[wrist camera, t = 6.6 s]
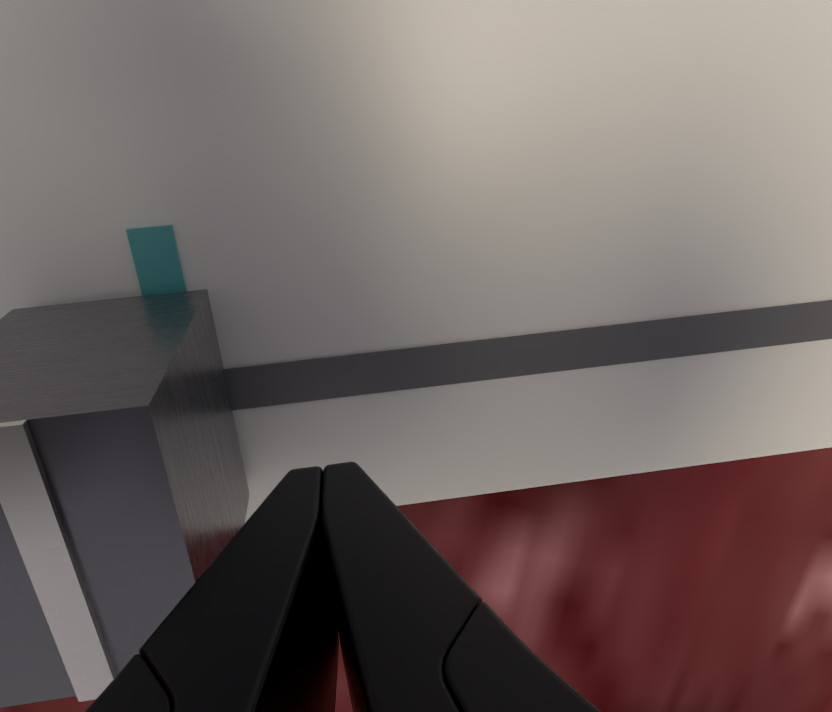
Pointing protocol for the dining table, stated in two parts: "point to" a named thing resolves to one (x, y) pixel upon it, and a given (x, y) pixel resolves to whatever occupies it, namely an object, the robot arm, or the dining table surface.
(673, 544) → the dining table surface
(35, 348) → the fader
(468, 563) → the dining table surface
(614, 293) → the slotted white panel
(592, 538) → the dining table surface
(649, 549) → the dining table surface
